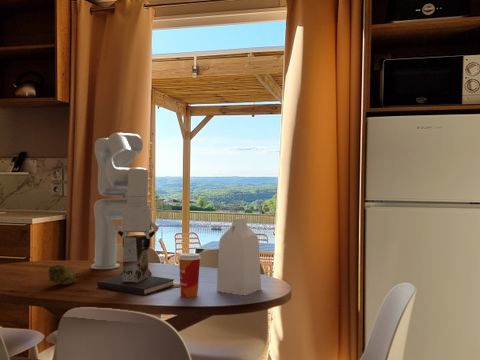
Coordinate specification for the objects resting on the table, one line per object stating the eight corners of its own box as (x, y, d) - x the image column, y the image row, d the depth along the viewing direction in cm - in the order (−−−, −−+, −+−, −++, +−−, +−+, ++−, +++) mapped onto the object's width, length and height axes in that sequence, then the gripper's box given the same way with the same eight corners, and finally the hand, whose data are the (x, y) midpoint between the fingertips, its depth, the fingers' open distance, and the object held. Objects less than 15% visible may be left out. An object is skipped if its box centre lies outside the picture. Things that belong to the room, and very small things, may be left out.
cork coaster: (166, 282, 163) (166, 281, 163) (187, 283, 163) (187, 281, 163) (163, 287, 155) (163, 286, 155) (184, 287, 155) (184, 286, 155)
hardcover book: (129, 278, 168) (129, 272, 168) (174, 285, 156) (174, 279, 156) (97, 287, 154) (96, 281, 154) (143, 295, 142) (143, 289, 142)
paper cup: (178, 293, 147) (178, 252, 147) (200, 292, 147) (201, 252, 148) (176, 298, 139) (177, 256, 139) (200, 298, 140) (200, 256, 140)
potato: (84, 282, 162) (85, 261, 162) (56, 289, 151) (56, 267, 151) (69, 280, 166) (69, 260, 166) (40, 286, 154) (41, 265, 155)
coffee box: (138, 282, 150) (139, 237, 151) (121, 281, 152) (122, 236, 152) (149, 277, 159) (149, 234, 160) (133, 276, 161) (134, 234, 161)
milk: (244, 295, 144) (244, 219, 145) (216, 291, 150) (217, 218, 151) (261, 289, 154) (261, 217, 155) (234, 285, 160) (235, 216, 161)
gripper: (110, 201, 153) (109, 250, 152) (158, 201, 153) (158, 251, 152) (116, 200, 160) (115, 247, 160) (162, 201, 160) (161, 248, 160)
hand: (136, 248), depth 156 cm, fingers closed on coffee box, 7 cm apart
